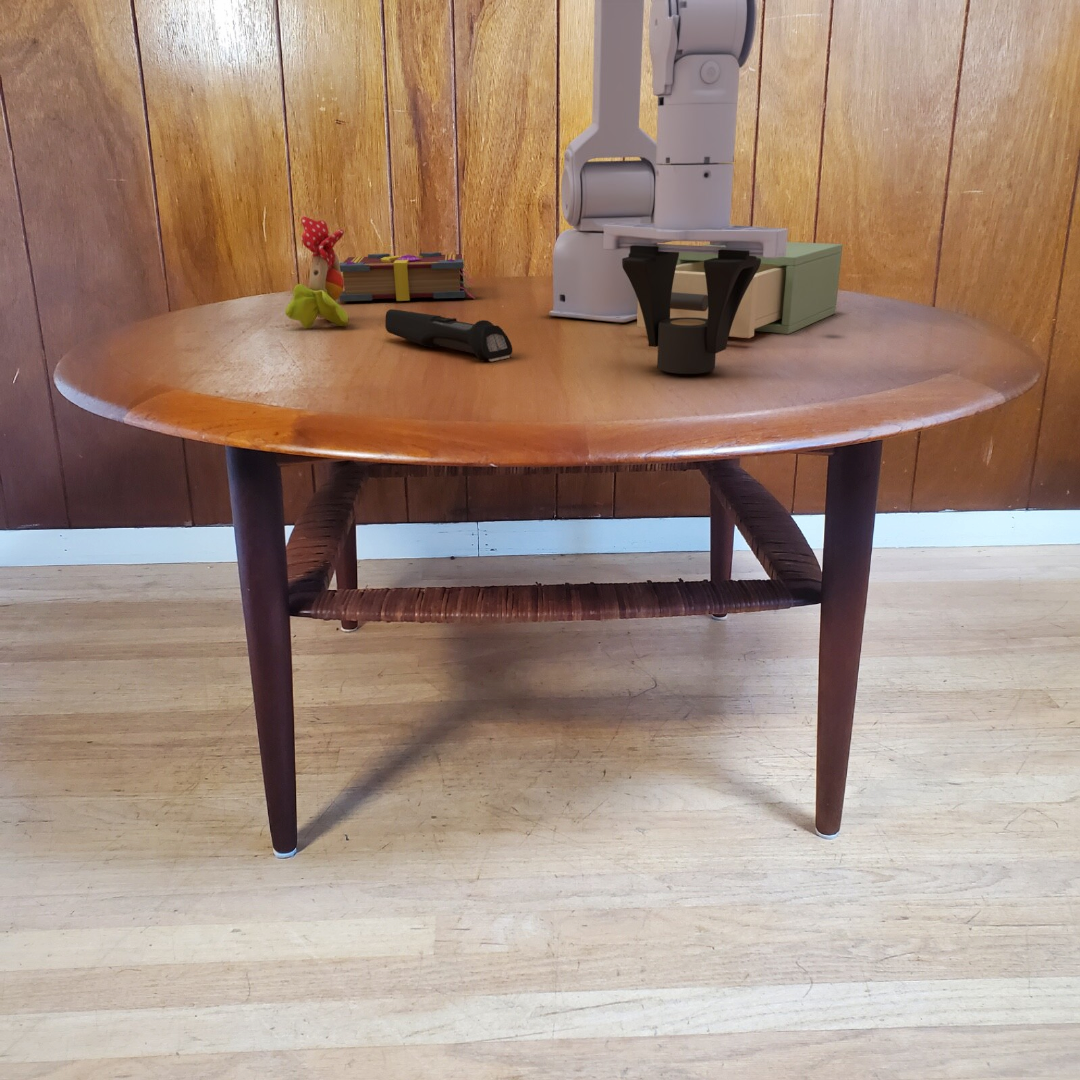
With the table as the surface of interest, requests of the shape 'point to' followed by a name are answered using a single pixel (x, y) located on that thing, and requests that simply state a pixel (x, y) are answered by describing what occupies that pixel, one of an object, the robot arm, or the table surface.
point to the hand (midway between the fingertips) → (686, 347)
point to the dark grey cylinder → (684, 346)
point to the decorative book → (403, 277)
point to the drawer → (754, 308)
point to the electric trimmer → (450, 333)
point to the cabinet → (799, 283)
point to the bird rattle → (319, 278)
